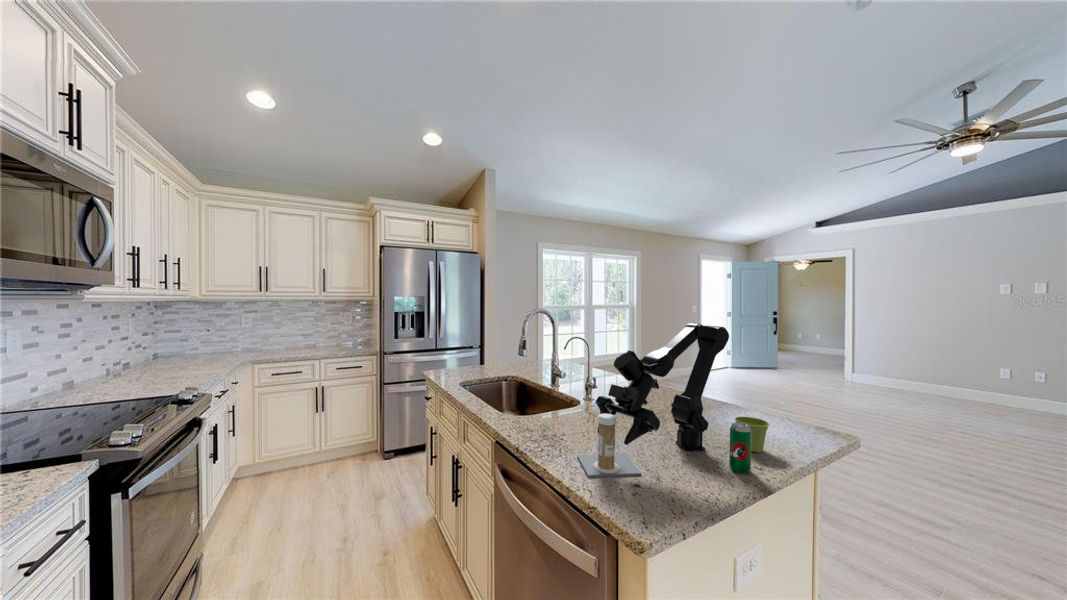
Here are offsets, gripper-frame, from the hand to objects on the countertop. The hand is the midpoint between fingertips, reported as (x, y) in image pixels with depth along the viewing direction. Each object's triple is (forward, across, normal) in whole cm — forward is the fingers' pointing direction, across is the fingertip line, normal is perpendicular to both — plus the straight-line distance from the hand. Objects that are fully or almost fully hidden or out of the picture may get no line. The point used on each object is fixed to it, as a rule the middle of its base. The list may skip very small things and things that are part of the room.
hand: (611, 438), depth 99 cm
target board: (+6, -1, +6) cm, 8 cm away
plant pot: (-26, +16, +38) cm, 49 cm away
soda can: (-14, +20, +26) cm, 36 cm away
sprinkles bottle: (+6, 0, +4) cm, 7 cm away
